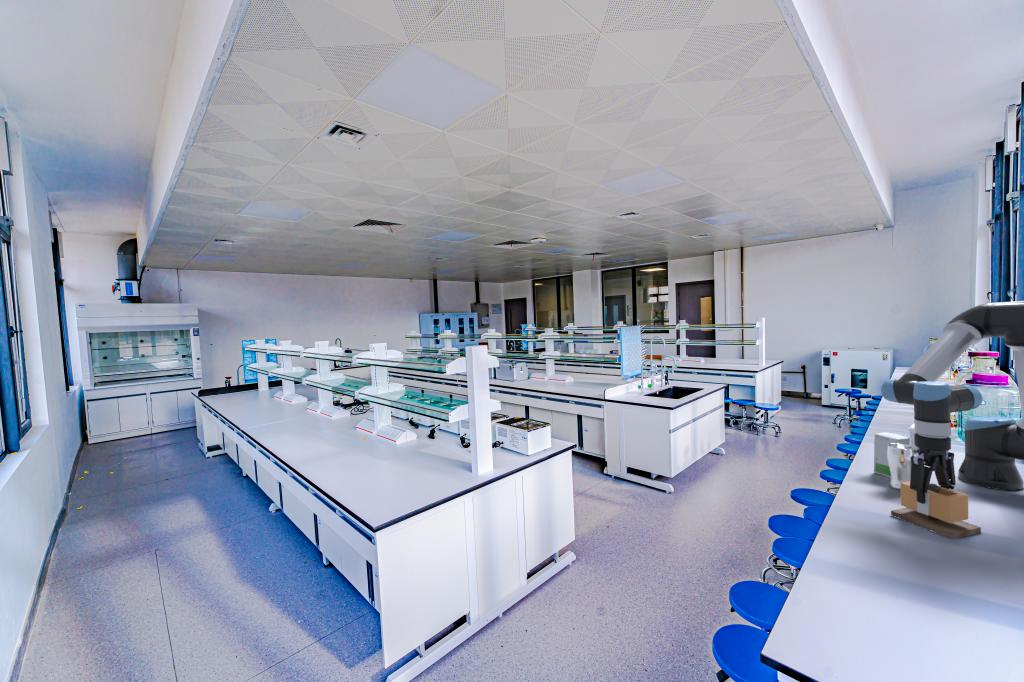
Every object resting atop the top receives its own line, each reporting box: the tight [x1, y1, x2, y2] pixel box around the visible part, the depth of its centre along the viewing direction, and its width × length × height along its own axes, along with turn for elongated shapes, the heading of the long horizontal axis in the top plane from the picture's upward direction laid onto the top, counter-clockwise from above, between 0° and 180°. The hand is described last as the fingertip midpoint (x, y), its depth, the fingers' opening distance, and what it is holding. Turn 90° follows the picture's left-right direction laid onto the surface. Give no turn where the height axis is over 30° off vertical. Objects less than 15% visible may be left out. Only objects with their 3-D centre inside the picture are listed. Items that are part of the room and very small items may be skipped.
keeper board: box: [890, 482, 982, 540], centre depth 121 cm, size 11×15×12 cm
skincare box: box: [873, 431, 910, 479], centre depth 157 cm, size 8×7×16 cm
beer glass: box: [887, 443, 915, 491], centre depth 146 cm, size 7×7×15 cm
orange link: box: [900, 481, 969, 523], centre depth 121 cm, size 12×7×7 cm, turn 13°
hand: (933, 511), depth 121 cm, fingers closed on orange link, 7 cm apart
